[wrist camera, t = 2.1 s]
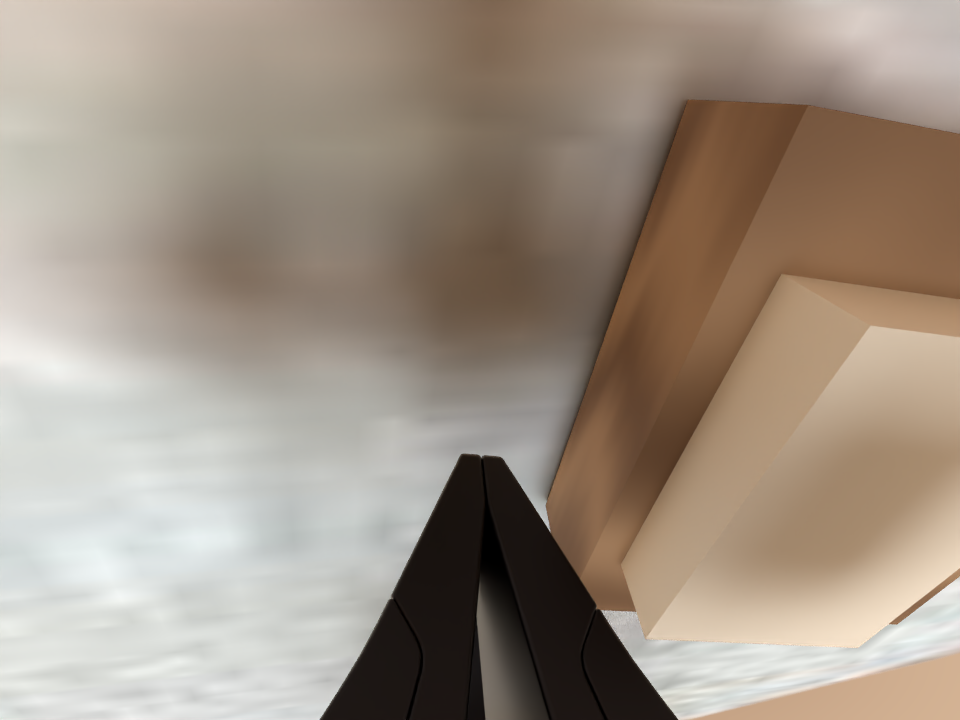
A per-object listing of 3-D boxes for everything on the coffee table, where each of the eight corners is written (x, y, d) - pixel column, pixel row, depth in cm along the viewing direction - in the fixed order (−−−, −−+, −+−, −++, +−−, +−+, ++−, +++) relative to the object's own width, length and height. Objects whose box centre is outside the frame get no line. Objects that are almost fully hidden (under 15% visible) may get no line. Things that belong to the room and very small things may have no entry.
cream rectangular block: (807, 575, 13) (858, 647, 11) (620, 564, 12) (645, 638, 11) (1061, 314, 8) (1212, 370, 7) (781, 273, 8) (870, 325, 6)
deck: (817, 525, 18) (897, 624, 15) (545, 505, 17) (565, 608, 14) (1125, 180, 11) (1421, 221, 8) (687, 99, 10) (808, 104, 6)
